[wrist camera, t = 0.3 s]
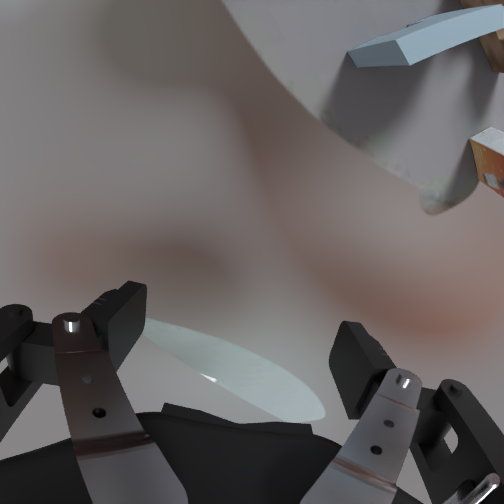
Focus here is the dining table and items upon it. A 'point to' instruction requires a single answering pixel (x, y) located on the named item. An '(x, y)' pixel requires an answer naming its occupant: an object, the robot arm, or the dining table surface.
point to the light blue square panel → (428, 37)
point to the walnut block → (490, 37)
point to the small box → (490, 158)
